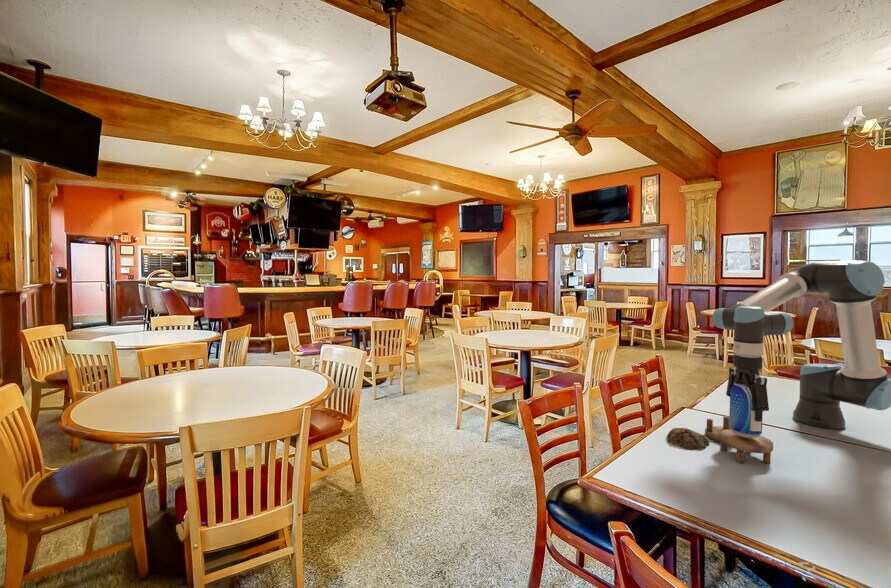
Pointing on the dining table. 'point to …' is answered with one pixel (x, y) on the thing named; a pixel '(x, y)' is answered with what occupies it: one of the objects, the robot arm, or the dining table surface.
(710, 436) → the upturned footstool
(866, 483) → the dining table surface
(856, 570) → the dining table surface
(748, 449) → the footstool
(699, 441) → the bread roll
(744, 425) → the beer can
